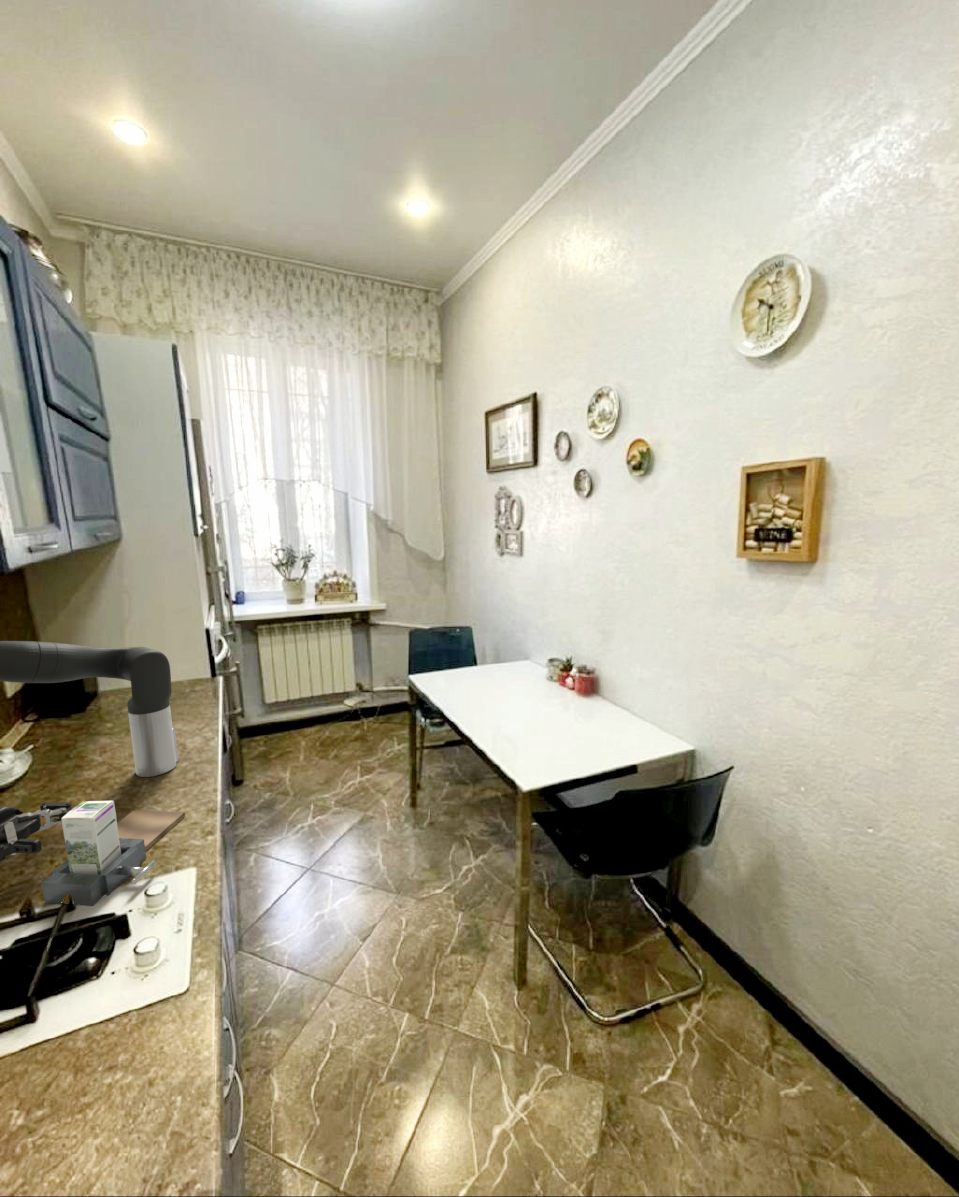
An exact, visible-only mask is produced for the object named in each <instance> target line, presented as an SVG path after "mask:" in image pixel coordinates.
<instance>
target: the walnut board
mask: <svg viewBox="0 0 959 1197" xmlns="http://www.w3.org/2000/svg"><path fill="white" fill-rule="evenodd" d="M185 816H186V814H185V811H169V810H166V811H163V810H145V809H144V810H141V809H134V810H132V811H131V812H130V813H129V814H127V815H126V816H125V817H123V818H122V819H120V820H119V821H117V827H118V835H119V838H128V839H144V844H145V852H147V851H148V850H149V849H150V848H151V847H152V846H154V845H155V843H157V842H159V840H160V839H161V838H162V837H164V836H165V835H166V834H167V833H168V832H169V831H170V830H171V829H172V828H174V826H176V825H177V824H178V823H179V822H180V821H182V820H183V819H184V818H185Z"/></svg>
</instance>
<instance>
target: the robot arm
mask: <svg viewBox="0 0 959 1197" xmlns="http://www.w3.org/2000/svg"><path fill="white" fill-rule="evenodd" d="M171 674H172V672H171V666H170V662H169V659H168V657H167V656H166V655H165V654H164V653H163V652H161V651H159V650H156V649H153V648H150V647H144V646H131V647H129V646H128V647H94V646H93V647H92V646H88V645H87V646H86V645H79V644H73V643H59V642H53V641H52V642H51V641H35V640H34V641H33V640H30V641H29V640H0V682H5V683H6V682H8V683H19V684H22V683H24V684H25V683H26V684H55V683H64V682H65V683H66V682H71V681H77V680H81V679H86V678H87V679H88V678H109V679H116V680H117V679H118V680H124V681H129V682H130V687H131V689H130V690H131V698H130V699H129V700H127V705H126V706H127V713H128V721H129V728H130V737H131V746H132V754H133V762H134V769H135V775H136V776H138V777H141V778H151V777H156V776H160V775H163V774H165V773H168V772H169V771H172V770H173V769H174V768H176V766H177V763H178V762H179V754H178V752H179V751H178V743H177V736H176V734H177V733H176V729H175V728H173V721H172V712H171V704H170V698H171V695H172V675H171ZM72 809H73V806H72V802H71V801H70V802H69V801H68V802H63V801H62V802H59V801H58V802H57V801H55V802H54V801H53V802H49V801H48V802H47V801H46V802H43V803H40V804H39V809H37V810H36V811H29V812H28V811H27V812H23V811H21V810H20V809H19V808H17V807H14V806H8V805H7V806H5V805H2V806H1V805H0V862H3V861H5V860H6V859H7V857H9V855H10V856H16V855H17V854H38V853H39V852H41V851H42V842H41V840H40V839H34V838H29V837H30V836H31V835H33V834H35V833H38V832H40V831H45V830H48V829H51V828H52V827H53V826H55V825H58V824H62V820H61V818H62V817H63V816H65V815H66V814H67V813H68V812H69V811H70V810H72ZM40 817H41V818H44V821H45V822H44V824H42V822H41V818H40ZM52 818H55V819H52Z"/></svg>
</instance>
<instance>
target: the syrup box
mask: <svg viewBox="0 0 959 1197" xmlns="http://www.w3.org/2000/svg"><path fill="white" fill-rule="evenodd" d="M61 820H62V823H61V824H62V832H63V837H64V844H65V849H66V850H65V851H66V856H67V860H68V863H69V869H70V873H71V874H89V875H99V874H100V873H101V872H102V871H103V870H104V869H106V868H107V867H108V866H109V865H110V864H112V863H113V862H114V861H115V860H116V859H117V858H119V857H120V856H121V849H120V842H119V835H118V827H117V823H118V821H117V813H116V807H115V801H114V800H87V801H86V800H84V801H82V802H80V803H79V804H76V806H74V807H72V810H70V811H69V812H68V813H67V814H66V815H65V816H63V817H62V818H61Z"/></svg>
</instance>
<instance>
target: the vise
mask: <svg viewBox="0 0 959 1197" xmlns="http://www.w3.org/2000/svg"><path fill="white" fill-rule="evenodd" d="M119 842H120V849H121V856H120V857H119V858H117V859H116V860H115V861H114V862H113V863H112V864H110V865H109V866H108V867H107V868H106V869H104V870H103V871H102V872H101V873H100V874H99V875H89V874H71V873H70V869H69V863H68V859H67V860H66V861H64V862H62V863H61V864H60V865H59V866H57V867H56V868H55V869H53V870H52V871H51V872H50V874H51V875H49V876H48V877H47V878H45V880H43V881H42V882H41V887H42V894H43V901H44V904H50V905H51V904H54V905H62V904H61V902H62V901H63V899H64V897H65V895H67V894H69V895H71V896H72V898H73V901H74V904H75V905H74V906H87V907H94V906H96V905H95V904H97V903H98V902H100V901H101V899H102V898H104V897H105V896H110V895H111V894H113V892H114V891H116V890H117V889H118V888H119V887H120V886H121V885H122V884H123V883H124V882H126V881H127V879H128V878H129V877H131V876H134V877H133V878H132V879H131V880H130V884H131V885H133V886H134V885H136V884H137V883H138V882H139V881H140V880H141V879H142V878H143V877H144V876H146V875H147V874H148V873H149V871H151V870H152V869H153V868H154V867H155V866H156V865H157V861H156V860H155V859H153V860H151V861H150V862H149V863H148V864H146V866H145V867H141V863H142V862H143V861H144V860H145V859H146V858H147V851H145V844H144V839H128V838H119Z"/></svg>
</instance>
